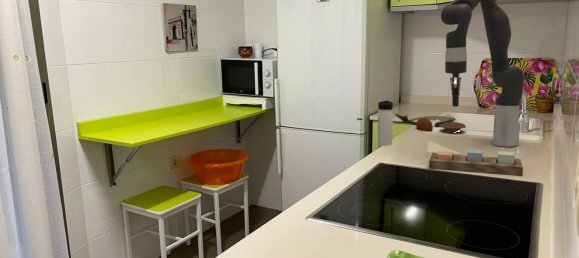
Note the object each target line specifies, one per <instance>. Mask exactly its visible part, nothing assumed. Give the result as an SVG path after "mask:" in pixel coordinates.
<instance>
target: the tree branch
mask: <svg viewBox="0 0 579 258" xmlns="http://www.w3.org/2000/svg"><path fill="white" fill-rule="evenodd" d="M394 115H395V116H396V117H397V118H398V119H399V120H401V121H402V122H403V123H404V124H411V125H415V126H416V122H417V121H418V120H419V119H423V118H426V119H429V120H430V121H436V120H437V119H438V120H440V121H436V122H435V123H434V125H435V126H434V127H440V125H441V124H442V123H446V122H454V121H455V122H456V121H457V118H455V117H451V116H444V115H443V116H441V115H440V116H439V115H431V116H419V117H414V118H410V119H409V118H408V114H405V115H401V114H400V113H395V114H394Z"/></svg>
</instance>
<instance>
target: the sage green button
mask: <svg viewBox="0 0 579 258" xmlns="http://www.w3.org/2000/svg"><path fill="white" fill-rule="evenodd" d="M497 157H498V163H501V164H514V158H515V157H516V156H515V152H514V151H501V150H500V151H497ZM515 159H516V158H515Z"/></svg>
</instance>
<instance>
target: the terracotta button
mask: <svg viewBox="0 0 579 258" xmlns="http://www.w3.org/2000/svg"><path fill="white" fill-rule="evenodd" d="M437 153H438V154H437V159H445V160H453V154H454V152H453V151H439V150H438V152H437Z"/></svg>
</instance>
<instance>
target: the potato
mask: <svg viewBox="0 0 579 258" xmlns="http://www.w3.org/2000/svg"><path fill="white" fill-rule="evenodd" d="M415 122H416V125H415V127H416V129H417V130H419V131H421V132H432V131H433V129H434V125H433V122H432V120H429V119H426V118H423V119H419V120H416V121H415Z"/></svg>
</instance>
